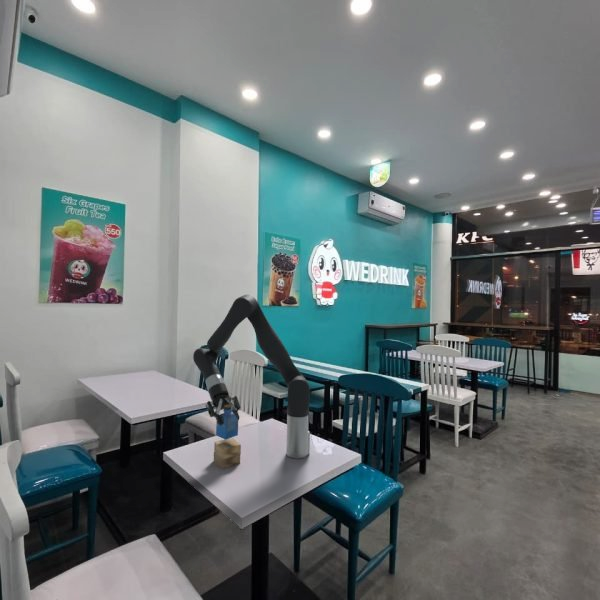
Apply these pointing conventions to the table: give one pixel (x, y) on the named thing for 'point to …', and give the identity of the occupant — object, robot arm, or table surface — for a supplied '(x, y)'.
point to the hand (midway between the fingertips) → (229, 422)
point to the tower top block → (227, 448)
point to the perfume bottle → (227, 424)
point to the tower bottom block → (226, 461)
